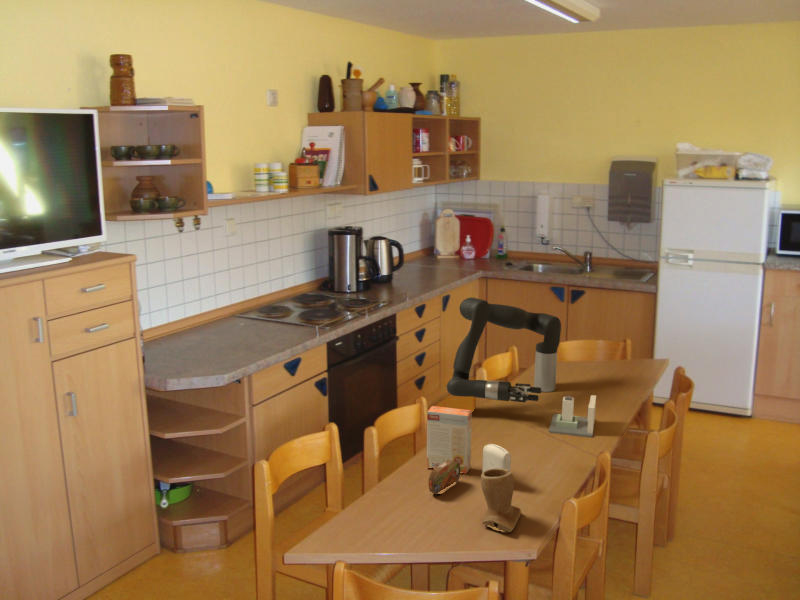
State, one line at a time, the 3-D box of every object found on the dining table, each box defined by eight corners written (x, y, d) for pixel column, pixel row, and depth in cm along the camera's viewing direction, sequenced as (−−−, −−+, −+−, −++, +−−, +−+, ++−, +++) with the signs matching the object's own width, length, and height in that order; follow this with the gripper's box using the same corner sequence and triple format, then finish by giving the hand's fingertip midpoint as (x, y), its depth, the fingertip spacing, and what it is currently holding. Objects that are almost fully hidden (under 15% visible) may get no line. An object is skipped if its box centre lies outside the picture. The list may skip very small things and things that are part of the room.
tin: (434, 499, 241) (435, 474, 240) (426, 496, 243) (426, 471, 241) (461, 481, 253) (461, 457, 251) (452, 479, 255) (453, 455, 253)
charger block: (562, 421, 302) (563, 395, 299) (572, 422, 301) (574, 396, 298) (561, 425, 298) (562, 398, 296) (571, 426, 297) (573, 399, 294)
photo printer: (480, 477, 256) (481, 442, 253) (489, 474, 259) (490, 439, 256) (503, 489, 248) (504, 453, 245) (512, 485, 251) (513, 449, 248)
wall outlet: (553, 415, 310) (554, 389, 307) (594, 420, 305) (596, 394, 303) (548, 432, 293) (550, 405, 290) (592, 437, 288) (594, 410, 286)
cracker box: (471, 467, 263) (472, 409, 259) (466, 475, 258) (468, 415, 253) (431, 461, 268) (432, 404, 263) (426, 469, 262) (426, 410, 257)
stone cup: (485, 505, 238) (487, 460, 234) (524, 512, 233) (526, 466, 230) (471, 529, 224) (472, 481, 221) (511, 537, 220) (513, 488, 216)
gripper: (495, 387, 297) (537, 391, 293) (501, 375, 311) (542, 379, 306) (494, 406, 299) (537, 410, 295) (500, 393, 312) (541, 397, 308)
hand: (539, 394), depth 300 cm, fingers open, 8 cm apart
